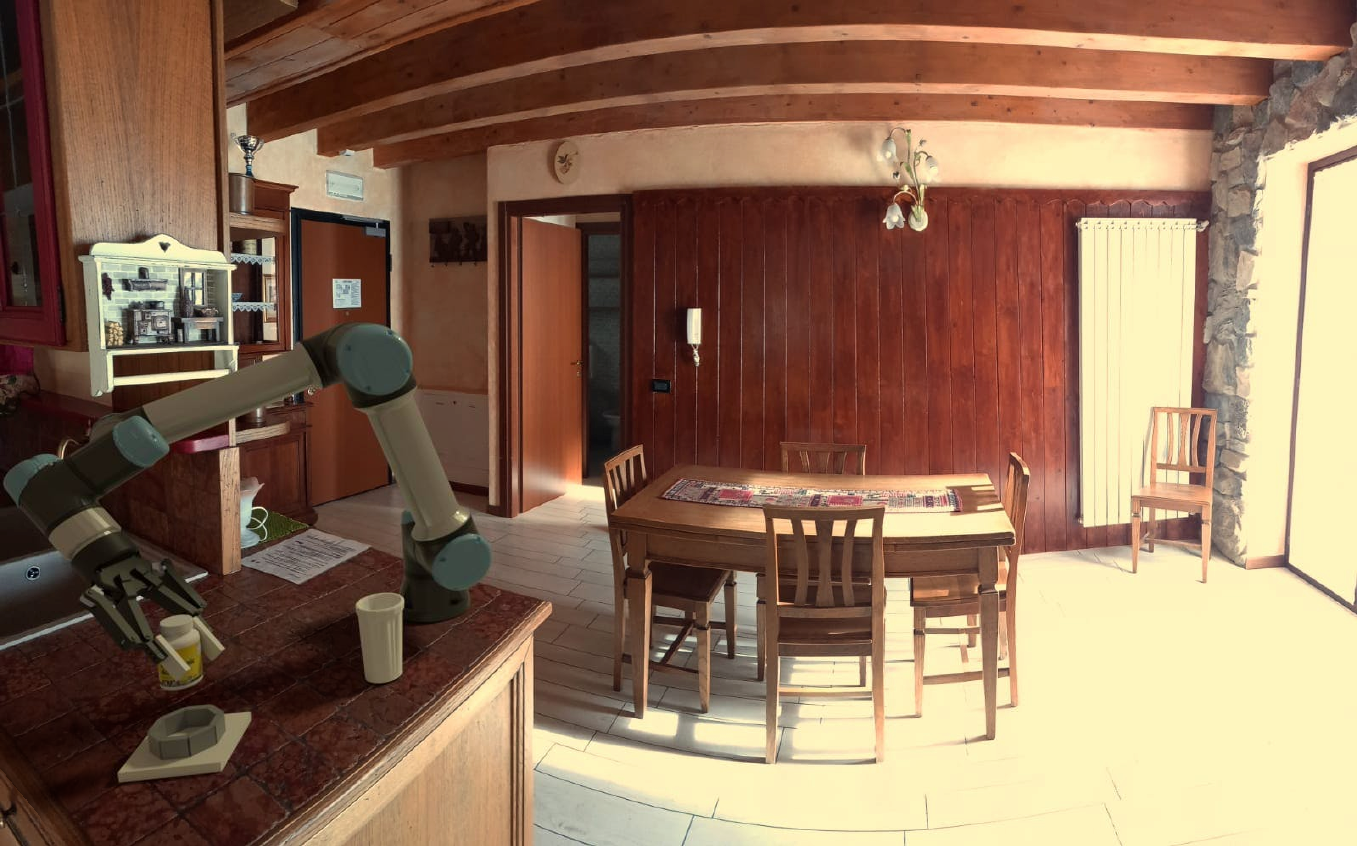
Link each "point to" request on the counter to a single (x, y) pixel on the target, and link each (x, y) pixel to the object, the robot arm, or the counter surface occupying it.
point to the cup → (381, 636)
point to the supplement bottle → (182, 651)
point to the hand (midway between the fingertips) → (201, 664)
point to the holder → (186, 744)
